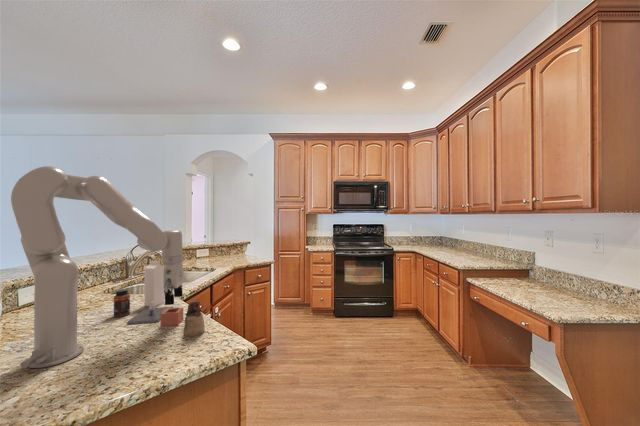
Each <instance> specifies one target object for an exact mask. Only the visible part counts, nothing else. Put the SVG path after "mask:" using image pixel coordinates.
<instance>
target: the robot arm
mask: <svg viewBox="0 0 640 426" xmlns="http://www.w3.org/2000/svg"><path fill="white" fill-rule="evenodd" d="M55 198H59V199H61V198H62V199H66V200H76V201H85V202H87V201H88V202H90V203H91V204H92V205H94V206H95V207H96V208H97V209H98V210H99V211H100V212H101V213H103V214H104V215H105V217H107V218H108V219H109V220H110V221H111V222H113V223H114V224H115V225H117V226H119V227H121V228H124V229H125V230H127V231H128V232H129V233H131V235H134V236H135V237H136V238H137V239H136V241H137V242H136V243H137V245H138V247H139V248H141V249H142V250H145V251H150V252H160V251H161V262H162V264H161V265H162V266H164V287H163V288H164V305H165V306H168V305H170V306H172V305H174V304H175V298H180V297H183V284H184V283H185V274H184V273H185V272H184V266H183V263H184V257H183V256H184V254H183V253H184V252H183V233H182V231H181V230H178V229H177V230H176V229H175V230H174V229H172V230H171V229H170V230H165V231H163V230H162V229H161V228H160V227H159V226H158V225H157V224H156V223H155V222H154V221H153V220H151V219H150V218H149V217H148V216H147V215H145V214H144V213H143V212H141V210H139V209H138V208H137V207H135V206H134V204H132V203H131V202H130V201H129V200H128V199H127V198H126V197H125V196H124V195H123V194H122V193H121V191H119V190H118V189H117V188H116V187H115V186H114V185H113V183H111V182H110V181H109V180H108V179H106V178H105V177H103V176H100V175H91V176H88V177H83V176H77V175H71V174H66V173H65V172H64V171H63V170H62V169H60V168H58V167H55V166H49V165H47V166H46V165H45V166H39V167H36V168H34V169H32V170H30V171H28V172H27V173H25V174H23V175H22V176H21V177H20V178H19V179H18V180H17V182H15V184H14V186H13V188H12V191H11V195H10V202H11V203H10V204H11V207H12V212H13V215H14V218H15V221H16V224H17V227H18V229H19V233H20V236H21V237H20V242H21V246H22V248H23V251H24V254H25V256H26V259H27V262H28V265H29V266H30V269H31V272H32V274H33V277H34V278H33V279H34V300H33V301H34V302H33V303H34V304H33V305H34V306H33V308H34V309H33V310H34V311H33V312H34V313H33V315H34V316H33V319H34V323H33V324H34V328H33V329H34V330H33V331H34V332H33V333H34V334H33V335H34V336H33V338H34V339H33V342H34V343H33V350H32V351H31V355H30V357H29V358H27V359H25V360H23V361H21V362H20V365H19V367H20V368H22V369H26V368H30V369H40V368H48V367H52V366H56V365H59V364H61V363H65V362H67V361H69V360H72V359H75V358H76V357H78V356H79V355H81V353H82V352H84V345H82V344H80V343H78V284H79V276H80V275H79V267H78V265H77V264H76V261H75V262H74V260H73V259H71V258H70V254H69V251H68V248H67V246H66V234H65V232H64V231H63V229H62V226H61V224H60V222H59V218H58V216H57V211H56V209H55V205H54V199H55Z"/></svg>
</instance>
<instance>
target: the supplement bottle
mask: <svg viewBox="0 0 640 426" xmlns="http://www.w3.org/2000/svg"><path fill="white" fill-rule="evenodd" d="M130 314H131V294H129V293H128V289H127V288H121V289H118V290H116V293H115V296H113V316H114V318H121V317H123V318H124V317H126V316H128V315H130Z"/></svg>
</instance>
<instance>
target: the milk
mask: <svg viewBox="0 0 640 426" xmlns="http://www.w3.org/2000/svg"><path fill="white" fill-rule="evenodd" d="M163 287H164V265H162V264H160V262H159V260H150V261H149V264H148V265H147V266H146V267H144V306H145V307H149V303H150V302H154V303H155V307H156V306H160V305H162V304H165V295H164V288H163Z"/></svg>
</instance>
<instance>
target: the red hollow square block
mask: <svg viewBox="0 0 640 426" xmlns="http://www.w3.org/2000/svg"><path fill="white" fill-rule="evenodd" d="M183 320H184V307H182V306H181V307H173V308H167V309H166V310H165V311H163V312H162V313H161V320H160V327H172V326H173V327H174V326H179V324H181V322H183Z"/></svg>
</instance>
